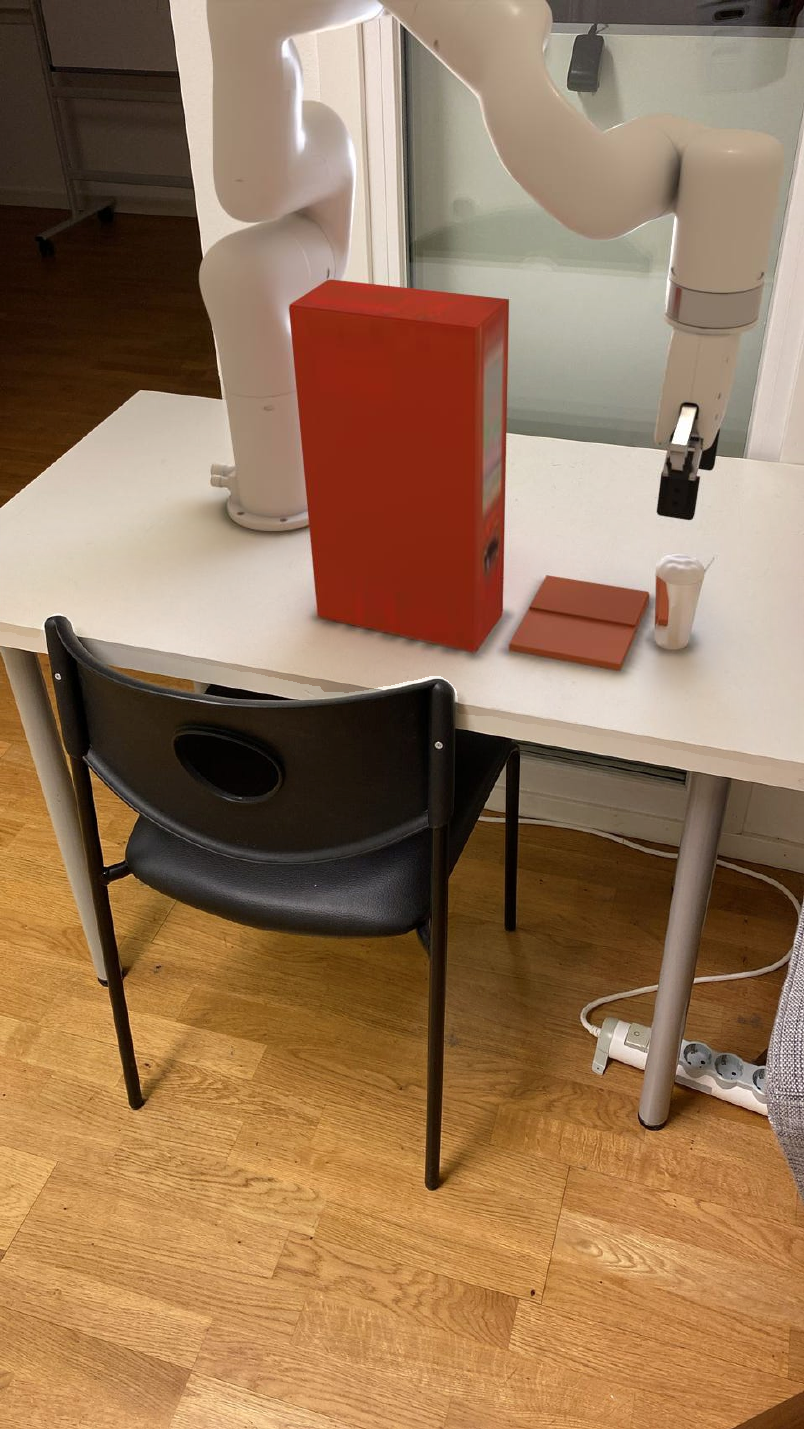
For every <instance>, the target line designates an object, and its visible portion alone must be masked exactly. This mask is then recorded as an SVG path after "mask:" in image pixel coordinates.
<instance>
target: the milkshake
mask: <svg viewBox="0 0 804 1429" xmlns="http://www.w3.org/2000/svg"><path fill="white" fill-rule="evenodd" d="M717 555H718V553H717V552H716V553H715V554H714V555H713V557H712V558H711V560H710V561H709V562H708V564H707V566H706V567H705V566H704V565H703V563H702V562H701V561H700V560H699V559H698V558H696V557H694V556H692V555H688V554H685V553H677V554H675V553H672V554H667V555H666V556H664V557H662V558H661V559H660V560H659V561H658V562H657V563H656V565H655V570H654V572H655V578H654V579H655V599H654V600H655V602H654V637H653V638H654V641H655V643H656V645H657V646H659V647H660V648H662V649H665V650H670V651H671V650H672V651H677V650H681V649H684V648H686V646H687V645H688V644H689V642H690V638H691V635H692V634H691V633H692V629H693V625H694V621H695V616H696V611H697V608H698V602H699V598H700V594H701V590H702V587H703V582H704V579H705V575H706V572H707V571H708V569H709V568H710V566H711V565H712V563H713V562H714V560H715V559H716V557H717Z"/></svg>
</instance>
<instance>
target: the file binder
mask: <svg viewBox="0 0 804 1429" xmlns="http://www.w3.org/2000/svg"><path fill="white" fill-rule="evenodd" d="M289 306H290V307H289V315H290V316H289V322H290V326H291V337H292V347H293V358H294V369H295V379H296V390H297V401H298V412H299V422H300V433H301V444H302V454H303V465H304V476H305V487H306V497H307V508H308V519H309V525H308V527H309V539H310V550H311V559H312V561H311V562H312V571H313V572H312V573H313V581H314V582H313V583H314V593H315V594H314V595H315V602H316V614H317V617H318V618H322V619H326V620H330V621H335V622H339V623H343V624H348V625H353V626H356V627H361V628H365V629H370V630H375V631H378V632H384V633H388V634H392V635H395V636H401V637H405V638H410V639H414V640H418V641H423V642H427V643H432V644H436V645H441V646H445V647H450V648H454V649H459V650H462V651H467V652H472V653H475V652H477V651H478V649H480V647H481V646H482V644H483V643H484V642H485V640H486V638H487V637H488V636H489V634H490V633H491V632H492V630H493V629H494V627H495V626H496V624H497V623H498V622H499V620H500V619H501V618H502V616H503V612H504V578H505V577H504V576H505V574H504V573H505V572H504V571H505V526H506V480H507V479H506V478H507V476H506V475H507V473H506V472H507V430H508V428H507V426H508V425H507V424H508V423H507V422H508V378H509V377H508V376H509V375H508V373H509V331H510V330H509V327H510V326H509V323H510V321H509V320H510V299H509V298H501V297H493V296H492V297H491V296H483V295H474V294H466V293H455V292H447V291H439V290H429V289H422V288H421V289H420V288H412V287H403V286H394V285H393V286H392V285H386V284H385V285H384V284H375V283H367V282H358V281H351V280H350V281H348V280H343V281H341V280H332V279H330V280H327V281H325V282H324V283H322V284H321V285H319V286H318V287H316V288H314V289H313V290H311V291H310V292H308V293H307V294H305V295H304V296H302V297H301V298H299V299H297V300H296V301H294V302H293V303H291V304H290V305H289Z"/></svg>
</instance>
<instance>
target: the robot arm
mask: <svg viewBox="0 0 804 1429" xmlns="http://www.w3.org/2000/svg"><path fill="white" fill-rule="evenodd" d="M205 2H206V3H205V4H206V6H205V8H206V20H207V29H208V36H209V42H210V49H211V59H212V173H213V174H212V175H213V185H214V191H215V194H216V198H217V201H218V203H219V205H220V206H221V208H222V209H223V211H224V212H225V213H226V214H227V215H228V216H229V217H230V218H232V219H234V220H237V221H238V222H242V223H247V224H249V223H250V224H251V223H252V224H251V225H248V226H245V227H244V228H243V227H242V228H240V229H238V230H236V231H233V232H230V233H229V234H227V235H225V236H223V237H222V238H220V239H219V240H218V241H216V242H215V243H214V244H213V245H211V246H210V247H209V249H208V250H207V251H206V253H205V255H204V256H203V258H202V260H201V263H200V266H199V272H198V281H199V282H198V284H199V289H200V293H201V297H202V300H203V303H204V306H205V310H206V311H207V315H208V318H209V321H210V324H211V327H212V330H213V334H214V338H215V342H216V346H217V353H218V358H219V364H220V370H221V377H222V384H223V388H224V395H225V402H226V410H227V416H228V422H229V423H228V424H229V431H230V432H229V433H230V439H231V446H232V454H233V462H234V464H229V463H226V462H219V461H214V462H212V463H211V466H210V475H211V477H210V482H209V483H210V486H211V487H214V488H221V489H222V488H224V489H225V488H226V489H227V490H228V491H229V492H230V495H229V496H228V498H227V501H226V506H227V513H228V516H229V517H230V518H231V520H233V522H235V523H237V524H238V525H240V526H242V527H244V528H247V529H251V530H255V531H260V532H261V531H262V532H283V531H284V532H285V531H292V530H296V529H300V528H301V529H302V528H304V527H307V526H309V519H308V508H307V497H306V487H305V476H304V465H303V454H302V444H301V433H300V422H299V412H298V401H297V390H296V379H295V369H294V358H293V347H292V337H291V326H290V315H289V307H290V306H289V305H290V304H291V303H293V302H294V301H296V300H297V299H299V298H301V297H302V296H304V295H305V294H307V293H308V292H310V291H311V290H313V289H314V288H316V287H318V286H319V285H321V284H322V283H324V282H325V281H327V280H330V279H332V280H341V281H344V279H345V276H346V274H347V271H348V266H349V261H350V254H351V244H352V243H351V242H352V231H353V221H354V220H353V218H354V205H355V194H356V193H355V192H356V178H357V177H356V176H357V161H356V151H355V146H354V144H353V143H354V142H353V139H352V137H351V134H350V131H349V129H348V127H347V125H346V123H345V121H344V120H343V119H342V117H341V116H340V115H339V113H337V112H336V111H335V109H333V108H332V107H330V106H329V105H327V104H325V103H323V102H321V101H316V100H304V91H305V90H304V89H305V78H304V69H303V65H302V60H301V57H300V54H299V50H298V47H297V46H296V44H295V40H293V39H294V38H296V37H301V36H309V35H315V34H318V33H323V32H327V31H334V30H339V29H342V28H347V27H350V26H355V25H359V24H363V23H369V22H372V21H377V20H380V19H385V18H390V17H393V18H395V20H397V22H399V24H401V25H402V27H404V28H405V29H406V30H407V31H408V32H409V33H410V34H411V35H412V36H413V37H414V38H416V40H418V42H419V43H420V44H422V45H423V46H424V47H425V48H426V49H427V50H428V51H429V52H430V53H431V54H432V55H433V56H434V57H435V58H436V59H437V60H439V62H441V64H442V65H444V67H446V68H447V69H448V70H449V71H450V72H451V73H452V74H453V75H454V76H455V77H456V78H457V79H458V80H459V81H460V82H461V83H463V85H465V87H466V88H468V90H470V92H471V93H472V94H473V95H474V96H475V97H476V99H477V101H478V103H479V107H480V113H481V117H482V121H483V124H484V127H485V129H486V132H487V134H488V137H489V139H490V141H491V145H492V147H493V149H494V151H495V154H496V155H497V157H498V159H499V162H500V163H501V165H502V166H503V168H504V169H505V170H506V172H507V173H508V175H509V176H510V177H511V178H512V180H513V181H514V182H515V183H516V184H517V185H518V187H520V189H522V190H523V192H525V193H526V194H527V195H528V196H529V197H530V198H531V199H532V200H533V201H534V202H535V203H536V204H538V206H539V207H540V208H542V209H543V211H544V212H546V213H547V214H548V215H549V216H550V217H551V218H552V219H553V220H555V221H556V222H557V223H559V225H561V226H562V227H563V228H565V229H567V230H568V231H570V232H571V233H573V234H575V235H577V236H578V237H581V238H584V239H585V240H588V241H589V240H590V241H594V242H607V241H614V240H617V239H619V238H621V237H624V236H626V235H628V234H630V233H632V232H633V231H635V230H637V229H638V228H640V227H642V226H644V225H646V224H647V223H649V222H652V221H656V220H659V219H662V218H666V217H668V216H672V215H674V222H673V232H672V242H671V249H670V259H669V267H668V275H667V283H666V291H665V292H666V293H665V302H664V308H663V319H664V322H665V323H666V324H668V325H669V326H671V327H672V330H671V335H670V340H669V344H668V349H667V354H666V359H665V365H664V371H663V376H662V384H661V389H660V397H659V401H658V408H657V416H656V421H655V428H654V434H653V440H654V442H655V444H656V445H662V444H665V445H666V444H667V443H668V446H667V450H666V454H665V459H664V463H663V468H662V471H661V474H660V479H659V480H660V481H659V488H658V496H657V504H656V514H657V515H658V516H660V517H664V518H665V517H667V518H673V519H678V520H683V521H684V520H686V521H692V520H693V519H694V517H695V516H696V515H695V514H696V509H697V508H696V507H697V501H698V494H699V489H700V488H699V487H700V481H701V475H698V472H699V470H703V471H712V470H714V468H715V464H716V459H717V452H718V446H719V440H720V432H721V424H722V423H723V420H724V418H725V414H726V413H727V412H726V411H727V408H728V405H729V401H730V397H731V392H732V389H733V388H732V387H733V383H734V380H735V379H734V378H735V373H736V367H737V361H738V356H739V349H740V343H741V336H742V333H745V332H748V331H750V330H752V329H754V328H755V327H756V326H757V325H758V321H759V316H760V311H761V304H762V298H763V293H764V286H765V280H766V273H767V268H768V261H769V254H770V250H771V243H772V239H773V238H772V237H773V232H774V226H775V220H776V213H777V207H778V201H779V196H780V190H781V184H782V177H783V171H784V163H785V152H784V148H783V145H782V144H781V142H780V141H779V140H778V139H777V138H776V137H775V136H773V135H770V134H768V133H765V132H763V131H758V130H753V129H744V128H743V129H742V128H722V129H721V128H720V129H719V128H715V127H712V126H709V125H705V124H702V123H700V122H697V121H693V120H690V119H688V118H685V117H682V116H678V115H675V114H671V113H665V112H653V113H648V114H644V115H641V116H637V117H635V118H633V119H631V120H629V121H626V122H623V123H620V124H618V125H615V126H613V127H610V128H609V129H606V130H603V131H602V130H600V129H599V127H597V126H596V125H595V124H594V123H593V122H592V121H590V119H588V117H586V116H585V115H584V114H583V113H582V112H581V111H580V110H579V109H577V108H576V106H575V105H573V103H571V102H570V100H569V99H568V98H567V97H566V96H565V95H564V94H563V92H562V91H561V90H560V88H559V87H558V86H557V85H556V83H555V81H554V80H553V78H552V77H551V75H550V73H549V71H548V68H547V65H546V62H545V58H544V52H545V50H546V47H547V45H548V43H549V40H550V37H551V35H552V34H551V33H552V30H553V22H554V20H553V13H552V12H553V11H552V9H551V7H550V5H549V3H548V2H547V0H206V1H205Z"/></svg>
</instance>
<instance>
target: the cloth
mask: <svg viewBox="0 0 804 1429" xmlns="http://www.w3.org/2000/svg"><path fill="white" fill-rule="evenodd" d="M650 596H651V594H650V592H649V591H645V590H639V589H633V588H628V587H621V586H616V585H615V586H614V585H609V584H603V583H596V582H590V581H584V580H578V579H573V578H566V577H560V576H553V575H548V574H547V575H545V578H544V579H543V581H542V582H541V584H540V586H539V588H538V590H537V592H536V594H535V595H534V597H533V599H532V601H531V602H530V605H529V606H528V609H527V610H526V612H525V614H524V616H523V618H522V620H521V621H520V623H519V624H518V627H517V629H516V630H515V633H514V634H513V636H512V638H511V640H510V641H509V643H508V650H509V651H511V652H515V653H516V652H517V653H521V654H528V655H533V656H538V657H542V658H543V657H544V658H548V659H554V660H559V661H565V662H569V663H574V664H575V663H576V664H581V665H587V666H591V667H596V668H602V669H608V670H613V671H619V672H620V671H622V670H621V669H622V668H623V665H624V662H625V660H626V658H627V655H628V653H629V651H630V648H631V645H632V643H633V641H634V639H635V636H636V633H637V632H638V628H639V626H640V624H641V621H642V619H643V616H644V614H645V611H646V610H647V607H648V604H649V602H650Z"/></svg>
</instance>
